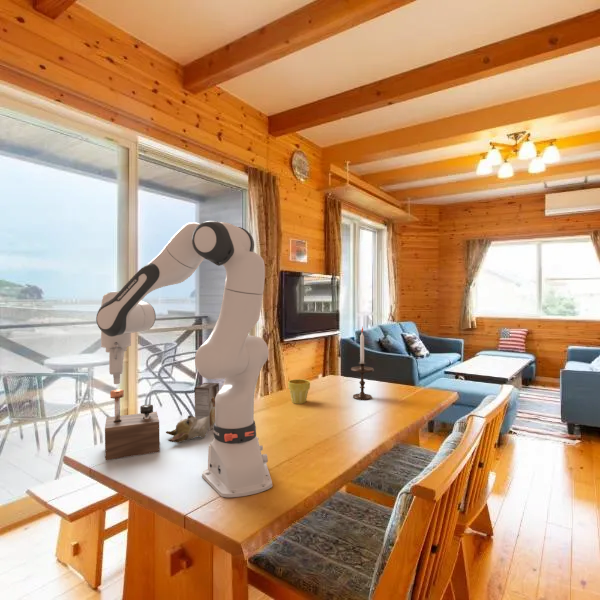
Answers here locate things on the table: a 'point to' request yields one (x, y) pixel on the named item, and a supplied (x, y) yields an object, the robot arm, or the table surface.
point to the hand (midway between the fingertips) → (116, 383)
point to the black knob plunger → (146, 410)
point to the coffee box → (206, 402)
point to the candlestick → (362, 371)
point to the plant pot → (299, 390)
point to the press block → (131, 436)
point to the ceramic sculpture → (189, 429)
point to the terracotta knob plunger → (117, 402)
